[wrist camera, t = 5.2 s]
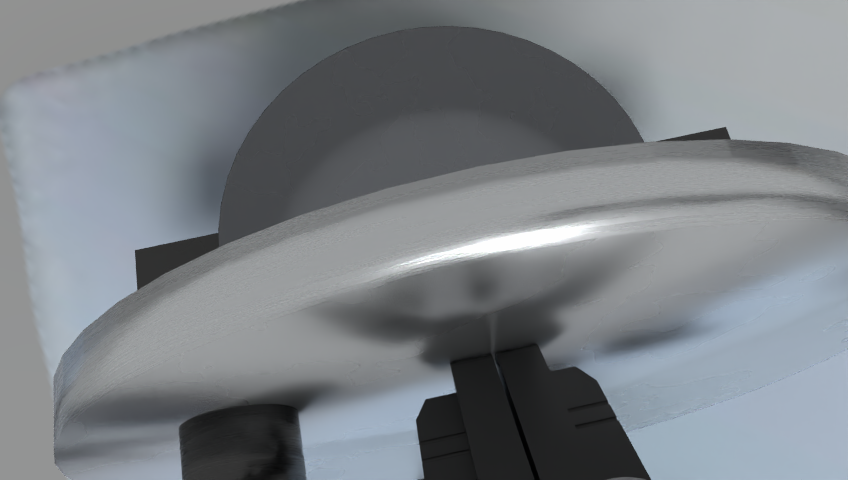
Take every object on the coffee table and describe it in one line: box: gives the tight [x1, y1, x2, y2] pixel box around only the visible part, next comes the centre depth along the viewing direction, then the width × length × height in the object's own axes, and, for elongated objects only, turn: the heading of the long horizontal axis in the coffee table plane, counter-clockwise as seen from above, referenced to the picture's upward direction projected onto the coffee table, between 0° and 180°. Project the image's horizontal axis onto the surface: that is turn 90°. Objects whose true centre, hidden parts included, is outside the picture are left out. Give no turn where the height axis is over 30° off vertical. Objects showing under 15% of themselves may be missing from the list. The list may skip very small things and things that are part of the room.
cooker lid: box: [54, 139, 848, 480], centre depth 17 cm, size 18×17×3 cm
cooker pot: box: [135, 26, 731, 480], centre depth 33 cm, size 17×23×10 cm
